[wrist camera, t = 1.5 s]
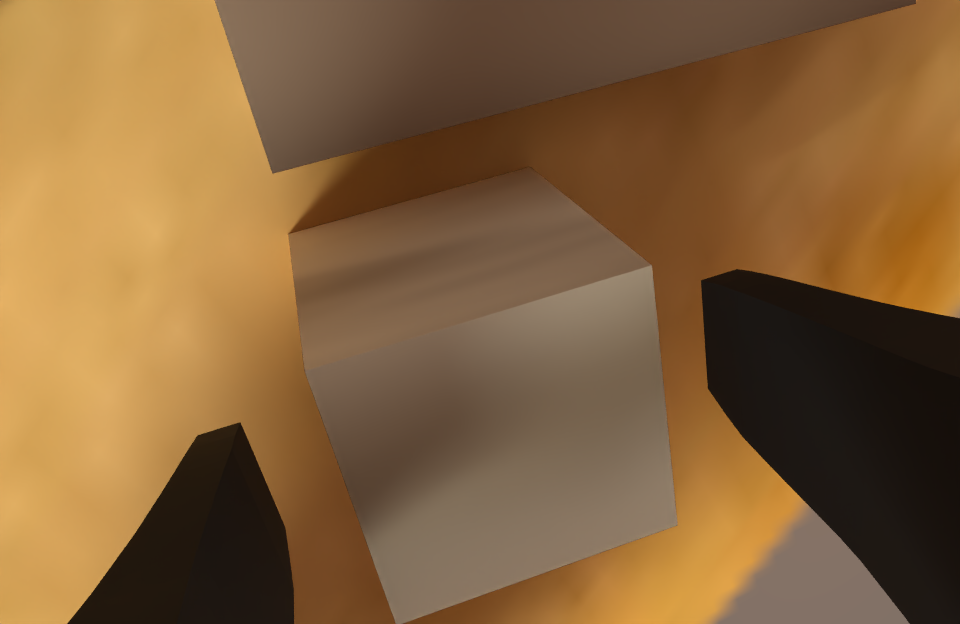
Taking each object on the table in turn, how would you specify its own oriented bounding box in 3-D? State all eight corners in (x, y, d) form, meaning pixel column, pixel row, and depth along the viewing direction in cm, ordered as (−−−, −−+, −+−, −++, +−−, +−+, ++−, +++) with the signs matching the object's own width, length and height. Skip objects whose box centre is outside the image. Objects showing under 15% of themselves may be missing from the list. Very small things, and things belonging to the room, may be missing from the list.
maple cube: (564, 368, 16) (677, 525, 12) (356, 435, 16) (396, 625, 11) (529, 165, 14) (651, 264, 10) (288, 233, 14) (304, 370, 9)
